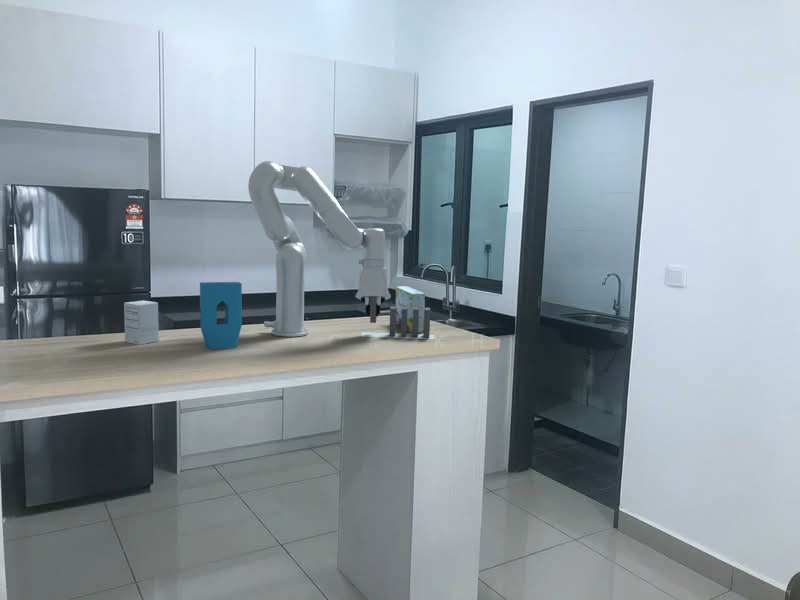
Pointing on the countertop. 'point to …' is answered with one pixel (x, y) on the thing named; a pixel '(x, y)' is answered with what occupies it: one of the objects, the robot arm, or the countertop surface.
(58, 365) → the countertop surface
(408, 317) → the snack box
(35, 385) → the countertop surface
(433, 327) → the countertop surface
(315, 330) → the countertop surface
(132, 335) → the supplement box
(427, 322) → the domino
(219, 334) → the block
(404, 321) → the domino
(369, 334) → the mat
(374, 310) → the domino
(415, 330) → the domino
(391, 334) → the domino
